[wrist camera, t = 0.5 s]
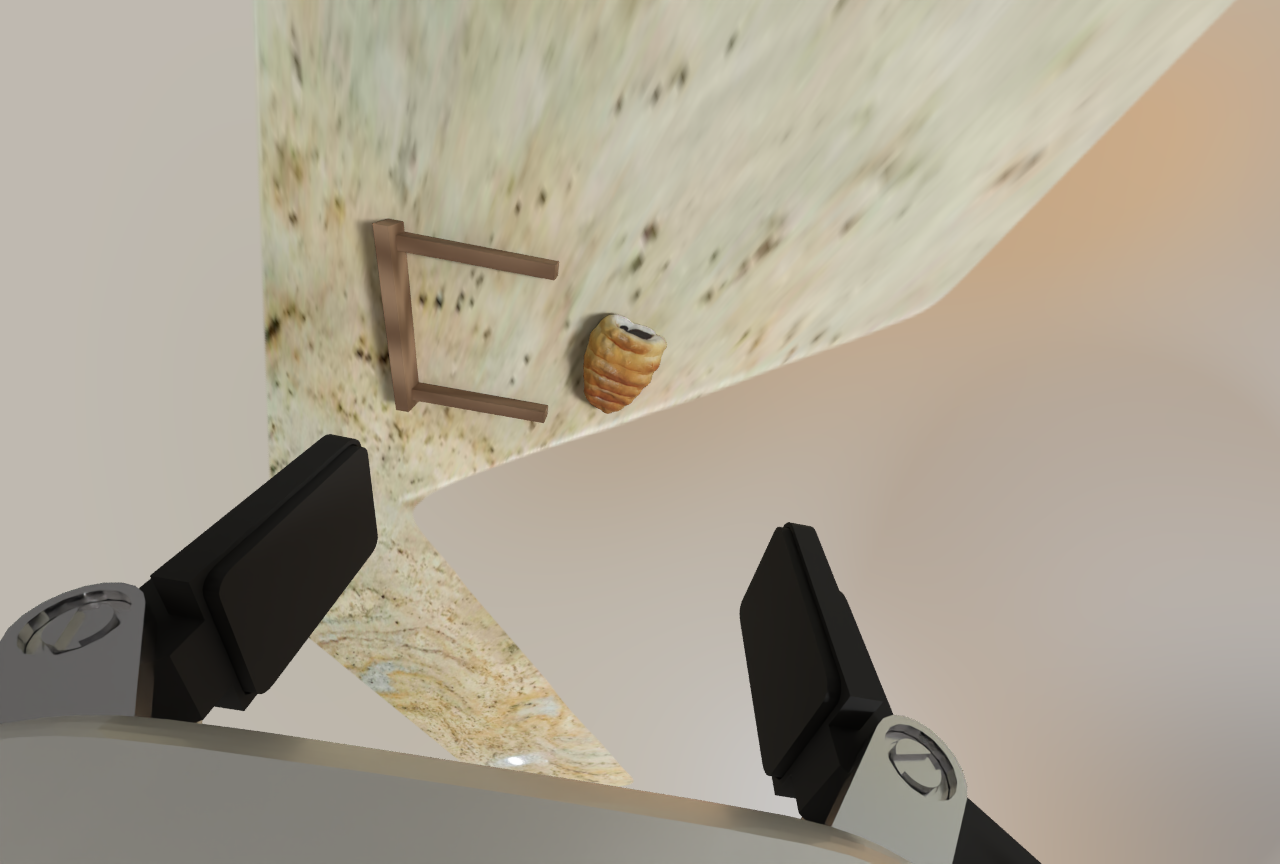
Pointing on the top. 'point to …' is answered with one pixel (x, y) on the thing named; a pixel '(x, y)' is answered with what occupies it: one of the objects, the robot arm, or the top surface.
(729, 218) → the top surface
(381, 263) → the bay
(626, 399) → the pastry
